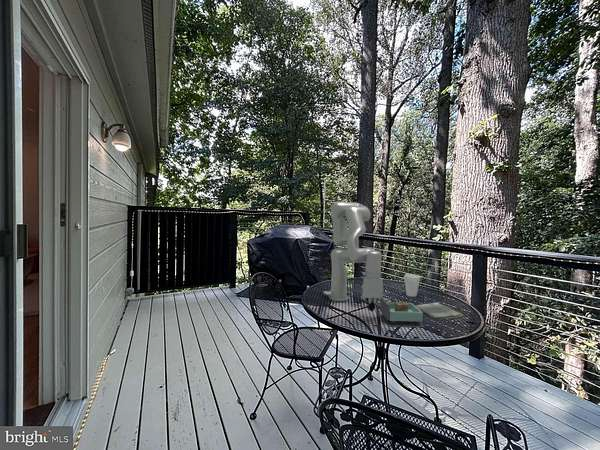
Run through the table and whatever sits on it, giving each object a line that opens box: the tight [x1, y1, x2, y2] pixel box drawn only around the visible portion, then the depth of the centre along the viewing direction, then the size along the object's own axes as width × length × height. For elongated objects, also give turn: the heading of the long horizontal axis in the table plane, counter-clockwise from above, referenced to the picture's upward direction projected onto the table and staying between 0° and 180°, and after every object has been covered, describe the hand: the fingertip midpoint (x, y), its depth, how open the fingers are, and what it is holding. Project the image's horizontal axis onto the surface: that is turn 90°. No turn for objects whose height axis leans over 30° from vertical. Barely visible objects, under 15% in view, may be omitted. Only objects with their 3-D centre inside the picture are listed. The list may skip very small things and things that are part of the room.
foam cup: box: [404, 273, 421, 298], centre depth 197 cm, size 10×9×13 cm
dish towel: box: [415, 301, 464, 320], centre depth 167 cm, size 19×18×3 cm
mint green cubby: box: [379, 296, 424, 325], centre depth 153 cm, size 17×14×10 cm
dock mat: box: [378, 313, 426, 328], centre depth 153 cm, size 18×16×1 cm
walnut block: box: [394, 301, 408, 312], centre depth 153 cm, size 5×5×5 cm
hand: (371, 310), depth 152 cm, fingers closed
